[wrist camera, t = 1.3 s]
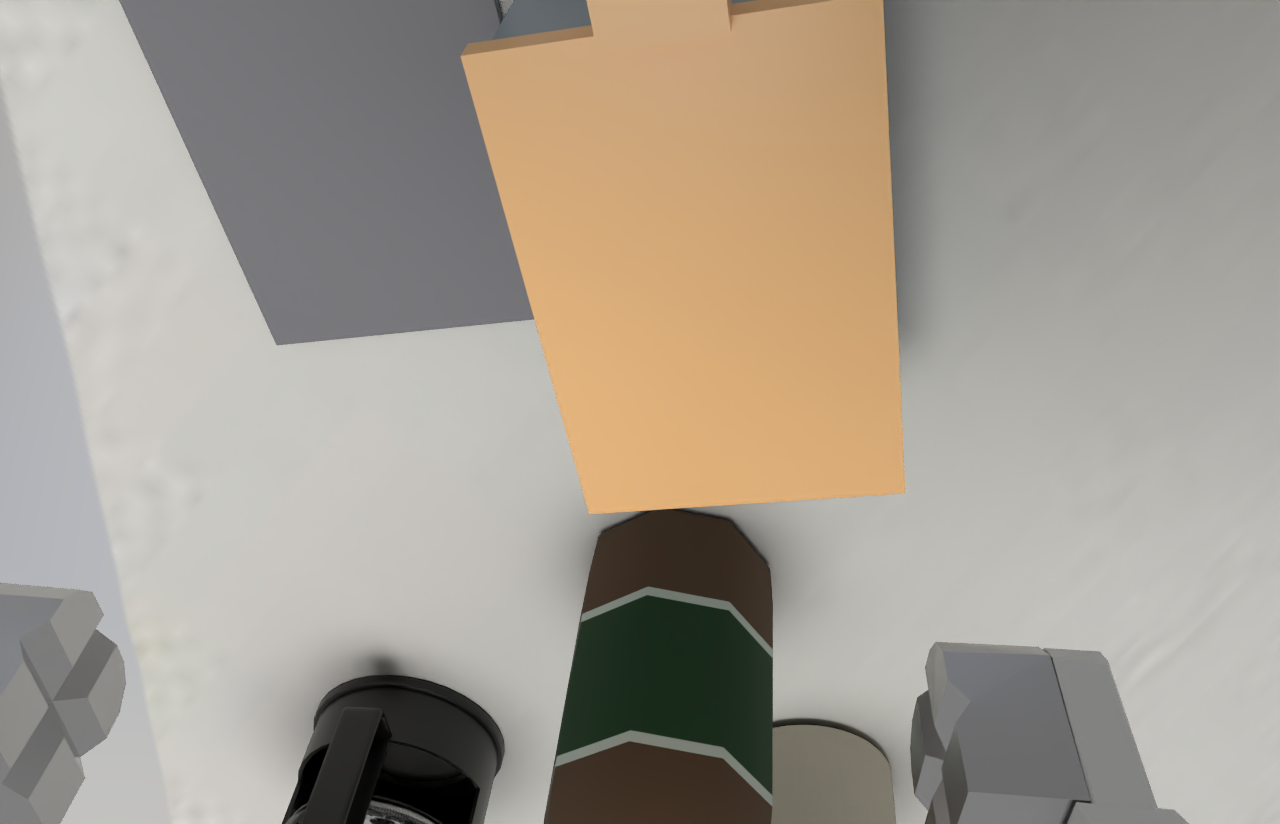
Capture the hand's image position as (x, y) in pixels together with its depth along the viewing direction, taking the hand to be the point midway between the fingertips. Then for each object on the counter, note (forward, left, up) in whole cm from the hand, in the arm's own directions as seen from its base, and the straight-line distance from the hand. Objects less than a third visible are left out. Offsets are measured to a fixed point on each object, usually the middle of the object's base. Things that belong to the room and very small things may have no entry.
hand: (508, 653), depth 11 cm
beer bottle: (+4, +24, -25) cm, 35 cm away
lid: (0, +5, -19) cm, 20 cm away
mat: (+11, +4, -25) cm, 27 cm away
